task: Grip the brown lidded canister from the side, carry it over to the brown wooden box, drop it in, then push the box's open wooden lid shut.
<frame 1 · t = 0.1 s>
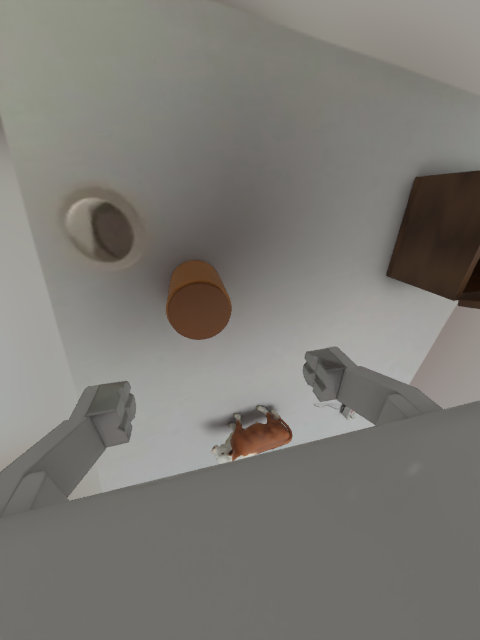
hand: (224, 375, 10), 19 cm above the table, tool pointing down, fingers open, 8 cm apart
brown wooden box: (433, 229, 32), on the table
game controller: (338, 401, 46), on the table
bull figurine: (244, 414, 42), on the table
brown lidded canister: (196, 285, 28), on the table
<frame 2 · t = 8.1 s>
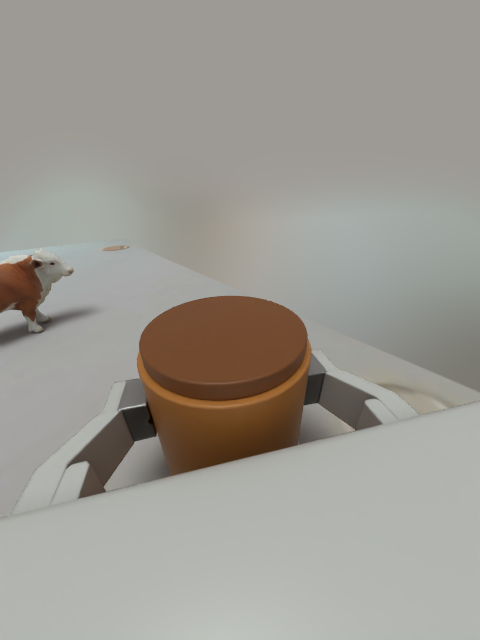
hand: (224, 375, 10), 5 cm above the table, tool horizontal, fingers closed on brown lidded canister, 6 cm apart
bull figurine: (19, 336, 24), on the table
brown lidded canister: (233, 458, 12), on the table, touching gripper
when the fingers open (12 cm above the table, at t = 17.2 s): brown lidded canister drops 6 cm, resting on brown wooden box.
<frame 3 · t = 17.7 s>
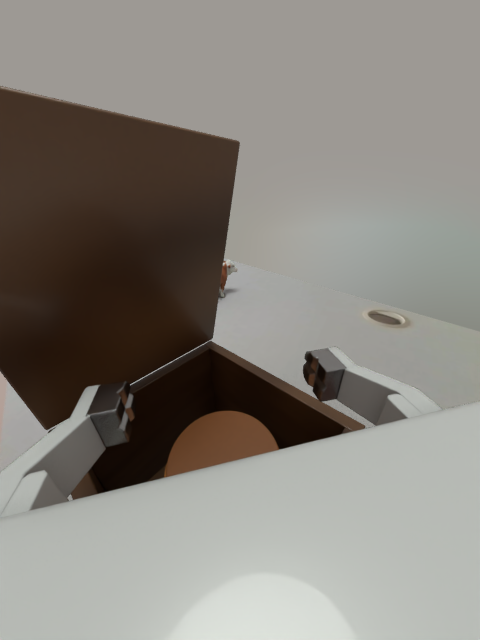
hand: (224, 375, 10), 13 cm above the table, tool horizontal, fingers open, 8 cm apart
brown wooden box: (218, 513, 17), on the table
bull figurine: (215, 298, 53), on the table
bin lid: (136, 287, 11), point 17 cm above the table, hinge at 75.0°
brown lidded canister: (230, 527, 15), point 1 cm above the table, touching brown wooden box
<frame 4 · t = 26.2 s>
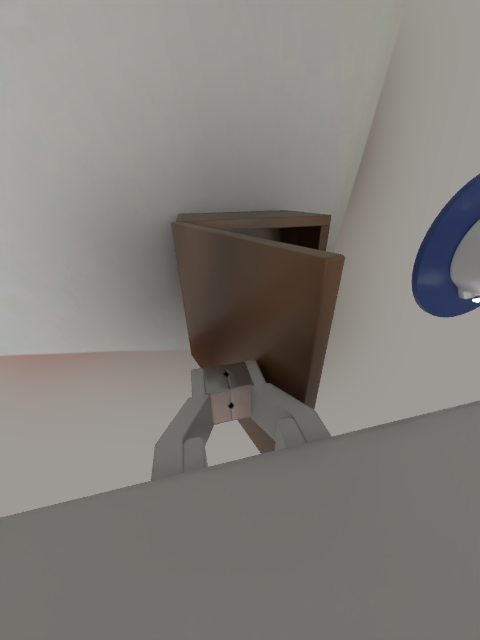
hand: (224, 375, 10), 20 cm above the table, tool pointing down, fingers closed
brown wooden box: (235, 262, 29), on the table
bin lid: (225, 333, 14), point 17 cm above the table, hinge at 71.2°, touching gripper
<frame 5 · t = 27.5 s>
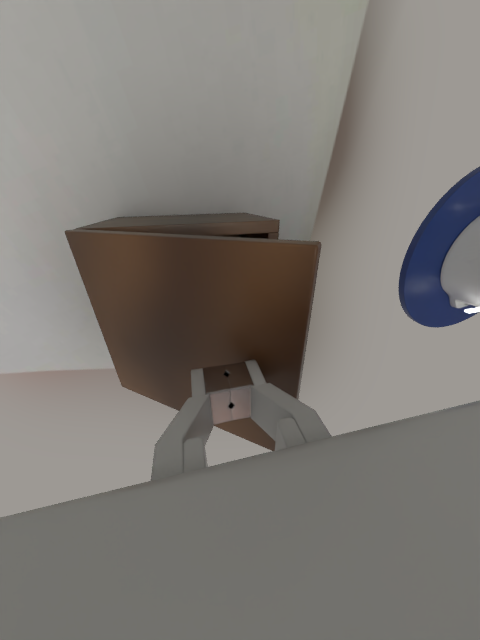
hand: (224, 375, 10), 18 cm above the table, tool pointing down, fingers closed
brown wooden box: (191, 271, 25), on the table
bin lid: (182, 342, 13), point 14 cm above the table, hinge at 37.9°, touching gripper
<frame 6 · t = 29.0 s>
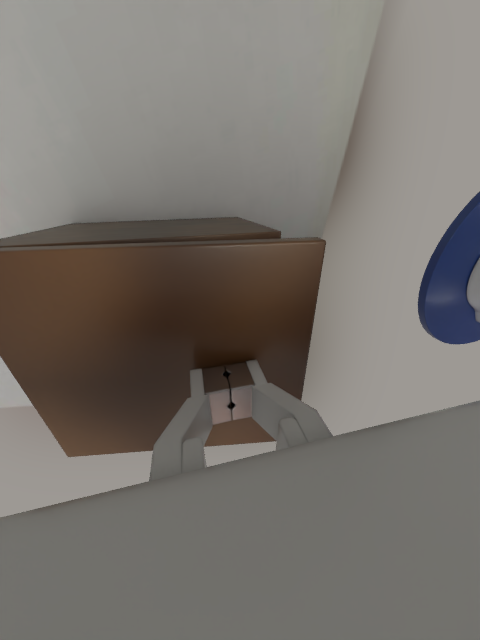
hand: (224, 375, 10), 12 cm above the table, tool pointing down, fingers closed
brown wooden box: (172, 289, 20), on the table
bin lid: (168, 368, 11), point 11 cm above the table, hinge at 8.7°, touching gripper
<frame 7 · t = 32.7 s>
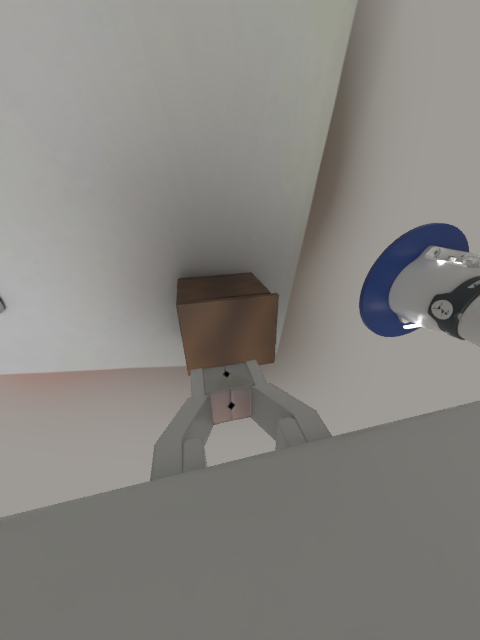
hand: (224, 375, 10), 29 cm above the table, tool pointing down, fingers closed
brown wooden box: (218, 306, 41), on the table
bin lid: (230, 336, 32), point 10 cm above the table, hinge at 1.3°
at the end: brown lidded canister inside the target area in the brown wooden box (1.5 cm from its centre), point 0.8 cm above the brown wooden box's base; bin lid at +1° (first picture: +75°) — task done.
